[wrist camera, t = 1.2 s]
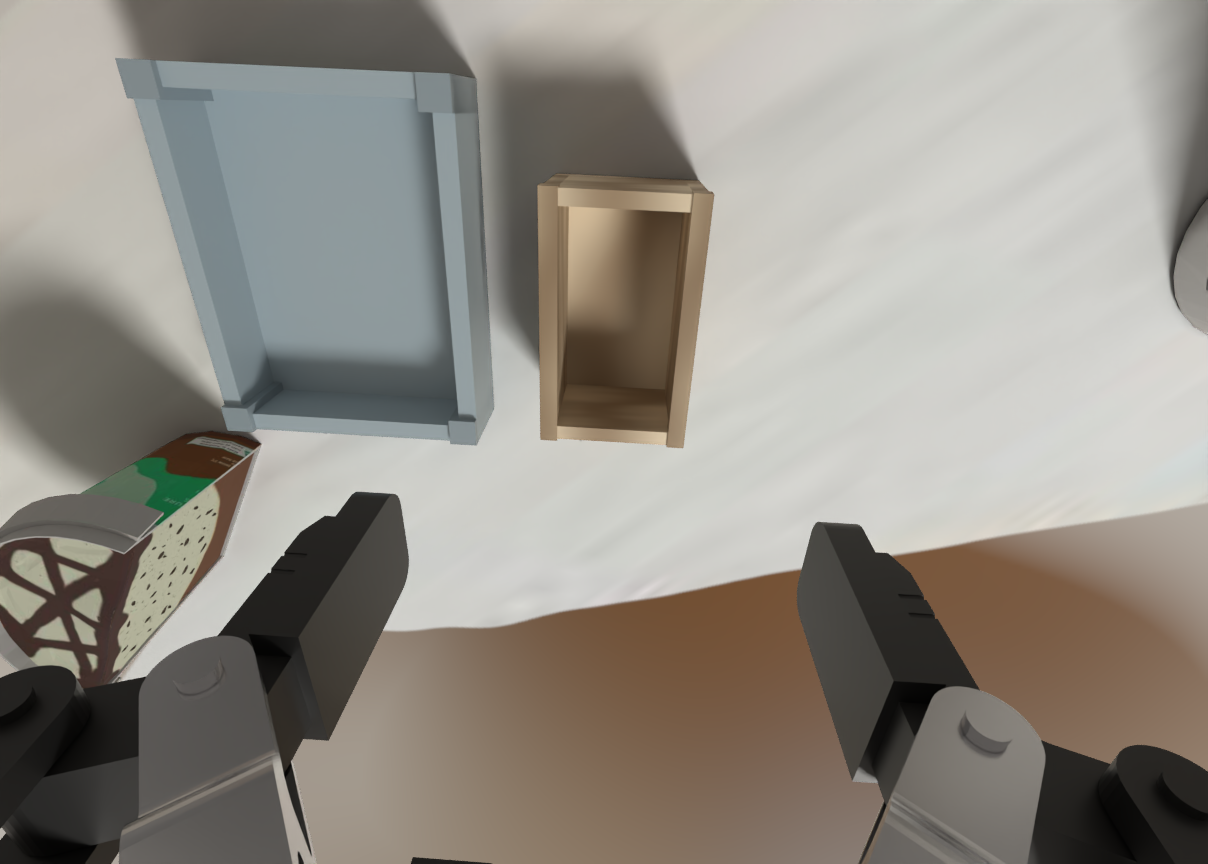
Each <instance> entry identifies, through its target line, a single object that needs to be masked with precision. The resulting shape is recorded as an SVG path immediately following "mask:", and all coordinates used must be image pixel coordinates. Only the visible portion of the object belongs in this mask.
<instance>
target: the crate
mask: <svg viewBox="0 0 1208 864" xmlns="http://www.w3.org/2000/svg"><path fill="white" fill-rule="evenodd" d="M115 59H116V63H117V66H118V69H119V73H120V76H121V79H122V83H123V86H124V89H125V92H126V96H127V98H133V99H134V101H135V105H136V108H137V111H138V115H139V118H140V122H141V125H142V128H143V132H144V135H145V138H146V142H147V145H148V148H149V152H150V155H151V159H152V162H153V165H154V169H155V172H156V175H157V179H158V182H159V185H160V189H161V192H162V195H163V199H164V202H165V206H166V209H167V212H168V216H169V219H170V222H171V226H172V229H173V232H174V236H175V239H176V242H177V246H178V249H179V253H180V256H181V259H182V263H183V266H184V269H185V273H186V276H187V279H188V283H189V286H190V289H191V293H192V296H193V300H194V303H195V306H196V310H197V313H198V316H199V320H200V323H201V326H202V330H203V333H204V336H205V340H206V343H207V347H208V350H209V353H210V357H211V360H212V363H213V367H214V370H215V373H216V377H217V380H218V384H219V387H220V390H221V394H222V397H223V400H224V404H225V405H223V406H222V407H221V410H222V413H223V417H224V420H225V423H226V427H227V430H228V431H243V432H254V431H255V430H256V429H265V430H282V431H298V432H315V433H332V434H348V435H365V436H382V437H398V438H415V439H432V440H448V441H450V444H460V445H477V443H478V441H479V439H480V437H481V435H482V433H483V431H484V429H485V427H486V425H487V422H488V420H489V418H490V416H491V414H492V412H493V410H494V399H493V380H492V362H491V343H490V325H489V306H488V288H487V269H486V251H485V232H484V214H483V195H482V177H481V158H480V140H479V121H478V103H477V84H476V79H474V78H469V77H464V76H459V75H455V74H450V73H429V72H398V71H376V70H355V69H333V68H311V67H289V66H267V65H245V64H223V63H202V62H180V61H158V60H144V59H123V58H115Z"/></svg>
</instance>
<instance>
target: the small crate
mask: <svg viewBox="0 0 1208 864" xmlns="http://www.w3.org/2000/svg"><path fill="white" fill-rule="evenodd" d="M537 189H538V272H539V354H540V437H541V440H555V441H557V438H558V439H574V440H591V441H608V442H625V443H642V444H658V445H667V447H672V448H683V446H684V438H685V430H686V421H687V413H688V405H689V397H690V389H691V381H692V372H693V364H694V356H695V348H696V340H697V331H698V323H699V315H700V307H701V299H702V291H703V282H704V274H705V266H706V258H707V250H708V242H709V233H710V225H711V217H712V209H713V201H714V193H713V192H709V191H708V190H707V189H706V188H705V187H704V186H703V184H702V183H701V182H700V181H699V180H680V179H660V178H639V177H619V176H599V175H579V174H558V173H556V174H555V175H554V176H552V177H551V178H550V179H549V180H547V181H546V182H545V183H540V184H539V185H537Z"/></svg>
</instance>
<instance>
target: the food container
mask: <svg viewBox="0 0 1208 864" xmlns="http://www.w3.org/2000/svg"><path fill="white" fill-rule="evenodd" d="M260 447H261V444H260V443H258V442H255V441H253V440H250V439H248V438H245V437H242V436H239V435H233V434H227V433H221V432H215V431H208V432H199V433H190V434H185V435H183V436H181V437H180V438H178V439H176V440H174V441H172V442H170V443H168V444H166V445H164V446H163V447H161V448H159V449H157V450H156V451H154V452H152V453H150V454H149V455H147V456H145V457H143V458H142V459H140V460H138V461H136V462H135V463H133V464H131V465H129V466H128V467H126V468H124V469H122V470H121V471H119V472H117V473H115V474H114V475H112V476H110V477H108V478H107V479H105V480H103V481H101V482H100V483H98V484H96V485H94V486H93V487H91V488H89V489H88V490H86V491H84V492H82V493H81V494H68V495H61V496H54V497H48V498H45V499H42V500H39V501H36V502H33V503H31V504H29V505H27V506H25V507H24V508H22V509H20V510H19V511H17V512H16V513H15V514H14V515H13V516H12V517H11V518H10V519H9V520H8V521H7V522H6V523H5V524H4V525H3V526H2V527H1V528H0V656H1V657H2V658H3V659H4V660H5V661H6V662H7V663H8V664H10V665H11V666H12V667H13V668H14V669H15V670H17V671H20V670H23V669H27V668H31V667H37V666H45V665H55V666H62V667H65V668H67V669H69V670H71V671H72V672H73V674H74V675H75V676H76V678H77V680H78V682H79V683H80V685H81V687H82V689H85V688H90V687H95V686H100V685H106V684H111V683H116V682H119V681H120V680H121V677H119V676H120V674H121V673H122V672H123V671H124V670H125V669H126V668H127V667H128V665H129V664H130V663H131V662H132V661H133V660H134V659H135V657H136V656H137V655H138V654H139V653H140V652H141V651H142V649H143V648H144V647H145V646H146V645H147V644H148V643H149V641H150V640H151V639H152V638H153V637H154V636H155V635H156V633H157V632H158V631H159V630H160V629H161V628H162V627H163V625H164V624H165V623H166V622H167V621H168V620H169V619H170V617H171V616H172V615H173V614H174V613H175V612H176V610H177V609H178V608H179V607H180V606H181V605H182V604H183V602H184V601H185V600H186V599H187V598H188V597H189V596H190V594H191V593H192V592H193V591H194V590H195V589H196V588H197V586H198V585H199V584H200V583H201V582H202V581H203V580H204V578H205V577H206V576H207V575H208V574H209V573H210V572H211V570H212V569H213V568H214V567H215V566H216V565H217V564H218V562H219V561H220V560H221V559H222V558H223V557H224V554H225V551H226V548H227V545H228V542H229V539H230V536H231V533H232V530H233V527H234V524H235V521H236V519H237V516H238V513H239V510H240V507H241V504H242V501H243V498H244V495H245V492H246V489H247V486H248V483H249V480H250V477H251V474H252V471H253V468H254V465H255V462H256V459H257V456H258V453H259V450H260Z"/></svg>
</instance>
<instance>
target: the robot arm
mask: <svg viewBox="0 0 1208 864" xmlns="http://www.w3.org/2000/svg"><path fill="white" fill-rule="evenodd" d="M1173 278H1174V289H1175V298H1176V300H1177V302H1178V305H1179V307H1180V310H1181V312H1182V314H1183V315H1184V316H1185V317H1186V319H1187V320H1188V321H1189V322H1190V323H1191V324H1192V325H1193V327H1195V328H1197V329H1198V330H1200V331H1202V332H1203V333H1205V334H1207V335H1208V199H1207V200H1206V201H1205V203H1204V204H1203V205H1202V206H1201V208H1200V209H1199V211H1198V213H1197V214H1196V216H1195V218H1194V219H1193V221H1192V223H1191V224H1190V226H1189V228H1188V229H1187V231H1186V233H1185V236H1184V238H1183V241H1182V244H1181V246H1180V249H1179V251H1178V254H1177V259H1176V265H1175V270H1174V276H1173ZM408 566H409V556H408V549H407V543H406V536H405V529H404V523H403V516H402V510H401V504H400V500H399V498H398V496H397V495H396V494H385V493H369V492H355V493H354V494H352V495H351V497H350V498H349V499H348V501H347V502H346V503H345V505H344V506H343V507H342V509H341V510H340V511H339V513H338V514H337V515H336V517H333V516H324V517H323V518H321V519H320V520H318V521H317V522H315V523H314V524H312V525H311V526H309V527H308V528H306V529H305V530H303V531H302V532H300V534H299V535H298V536H297V537H296V539H295V540H294V541H293V542H292V544H291V545H290V546H289V547H288V549H287V550H286V551H285V555H284V556H281V557H280V559H279V560H278V561H277V562H276V564H275V565H274V566H273V567H272V569H271V573H268V574H267V575H266V576H265V577H264V579H263V580H262V581H261V582H260V584H259V585H258V586H257V587H256V589H255V590H254V591H253V592H252V593H251V595H250V596H249V597H248V598H247V600H246V601H245V602H244V603H243V605H242V606H241V607H240V608H239V610H238V611H237V612H236V613H235V615H234V616H233V617H232V618H231V620H230V621H229V622H228V623H227V625H226V626H225V627H224V628H223V630H222V631H221V632H220V633H219V635H218V636H214V637H210V638H205V639H202V640H198V641H195V642H193V643H190V644H188V645H186V646H184V647H182V648H180V649H178V650H176V651H175V652H173V653H171V654H170V655H168V656H167V657H166V658H164V659H163V660H162V661H161V662H159V663H158V664H157V665H156V666H155V667H154V668H153V669H152V670H151V672H150V673H149V674H148V675H147V677H142V678H137V679H132V680H127V681H121V682H116V683H111V684H106V685H100V686H95V687H90V688H85V689H82V687H81V685H80V683H79V682H78V680H77V678H76V676H75V675H74V674H73V672H72V671H71V670H69V669H67V668H65V667H62V666H55V665H45V666H37V667H31V668H27V669H23V670H20V671H17V672H14V673H11V674H9V675H6V676H4V677H2V678H0V828H1V827H2V828H3V829H4V831H5V832H6V834H5V835H4V836H3V838H2V839H1V840H0V864H111V863H112V862H113V860H114V858H115V857H116V855H117V854H118V852H119V864H317V862H316V858H315V853H314V849H313V845H312V840H311V836H310V832H309V827H308V823H307V819H306V814H305V810H304V806H303V801H302V797H301V793H300V788H299V784H298V780H297V775H296V771H295V767H294V764H293V761H292V759H293V757H294V755H295V753H296V751H297V749H298V747H299V746H300V744H301V742H302V740H303V739H315V740H329V739H330V737H331V735H332V732H333V731H334V729H335V727H336V724H337V722H338V720H339V718H340V716H341V714H342V712H343V710H344V708H345V706H346V704H347V702H348V700H349V698H350V696H351V694H352V692H353V690H354V688H355V686H356V684H357V682H358V680H359V678H360V675H361V674H362V671H363V669H364V667H365V665H366V663H367V661H368V659H369V657H370V655H371V653H372V651H373V649H374V647H375V645H376V643H377V641H378V639H379V637H380V635H381V633H382V631H383V629H384V627H385V625H386V623H387V621H388V619H389V617H390V614H391V612H392V610H393V608H394V606H395V604H396V602H397V600H398V598H399V596H400V594H401V592H402V590H403V588H404V585H405V582H406V579H407V574H408ZM797 605H798V612H799V616H800V619H801V623H802V626H803V629H804V632H805V635H806V638H807V641H808V645H809V647H810V651H811V654H812V657H813V660H814V663H815V666H816V669H817V672H818V676H819V679H820V682H821V685H822V688H823V691H824V694H825V698H826V701H827V704H828V707H829V710H830V713H831V716H832V719H833V722H834V725H835V729H836V732H837V735H838V738H839V741H840V744H841V747H842V750H843V753H844V757H845V760H846V763H847V766H848V769H849V772H850V775H851V778H852V781H856V782H869V783H878V785H879V787H880V790H881V793H882V796H883V798H884V802H883V804H882V806H881V808H880V811H879V813H878V816H877V818H876V820H875V823H874V825H873V828H872V830H871V832H870V835H869V837H868V840H867V842H866V845H865V847H864V849H863V852H862V854H861V857H860V859H859V862H858V864H1208V772H1207V771H1206V770H1205V769H1203V768H1201V767H1200V766H1198V765H1197V764H1195V763H1193V762H1191V761H1190V760H1188V759H1185V758H1183V757H1182V756H1180V755H1177V754H1175V753H1172V752H1170V751H1167V750H1164V749H1161V748H1157V747H1152V746H1147V745H1134V746H1129V747H1127V748H1124V749H1123V750H1122V751H1121V752H1119V754H1118V755H1117V756H1116V758H1115V759H1114V761H1113V762H1112V763H1111V764H1108V763H1105V762H1103V761H1100V760H1096V759H1094V758H1091V757H1088V756H1085V755H1082V754H1078V753H1076V752H1073V751H1069V750H1067V749H1064V748H1061V747H1058V746H1055V745H1052V744H1049V743H1047V742H1044V741H1042V740H1040V738H1039V736H1038V735H1037V733H1036V731H1035V730H1034V729H1033V728H1032V726H1031V725H1030V724H1029V723H1028V722H1027V721H1026V720H1025V718H1024V717H1023V716H1022V715H1020V714H1019V713H1018V712H1017V711H1016V710H1015V709H1013V708H1012V707H1010V706H1009V705H1008V704H1006V703H1005V702H1003V701H1001V700H1000V699H998V698H996V697H994V696H992V695H990V694H988V693H986V692H982V691H980V690H979V688H978V686H977V685H976V683H975V681H974V680H973V678H972V676H971V674H970V673H969V671H968V669H967V668H966V666H965V664H964V663H963V661H962V659H961V658H960V656H959V654H958V653H957V651H956V649H955V647H954V646H953V644H952V642H951V641H950V639H949V637H948V636H947V634H946V632H945V631H944V629H943V627H942V625H941V624H940V622H939V621H938V619H935V614H934V612H933V610H932V609H931V607H930V605H929V604H928V602H927V600H924V595H923V593H922V592H921V590H920V589H919V587H918V585H917V583H916V582H915V580H914V578H913V577H912V575H911V573H910V572H909V571H907V570H906V569H905V568H904V567H903V566H902V565H901V564H899V563H898V562H897V561H896V560H895V559H894V558H893V557H892V556H890V555H889V554H888V553H876V552H875V551H874V549H873V547H872V545H871V543H870V541H869V540H868V538H867V536H866V534H865V532H864V530H863V529H862V527H861V526H860V525H858V524H843V523H827V522H817V523H816V524H815V525H814V527H813V529H812V532H811V536H810V540H809V544H808V548H807V551H806V555H805V559H804V563H803V567H802V570H801V574H800V578H799V582H798V588H797ZM411 864H491V863H481V862H468V861H455V860H441V859H429V858H416V857H413V859H412V862H411Z"/></svg>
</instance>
